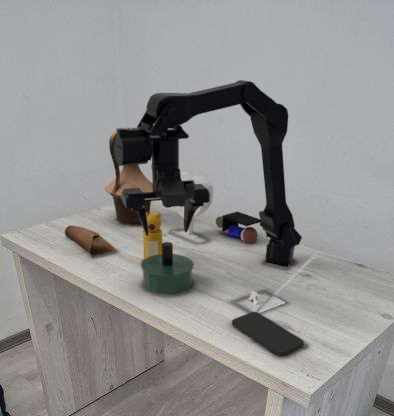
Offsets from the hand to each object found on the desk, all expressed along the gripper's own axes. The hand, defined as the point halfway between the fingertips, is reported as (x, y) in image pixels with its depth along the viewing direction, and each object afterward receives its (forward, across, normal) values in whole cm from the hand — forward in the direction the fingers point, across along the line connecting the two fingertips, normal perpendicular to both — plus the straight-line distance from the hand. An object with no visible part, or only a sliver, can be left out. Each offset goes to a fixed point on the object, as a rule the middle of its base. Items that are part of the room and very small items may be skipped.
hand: (166, 233), depth 106 cm
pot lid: (+8, 0, 0) cm, 8 cm away
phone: (+13, +14, -28) cm, 34 cm away
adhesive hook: (+13, +18, -15) cm, 27 cm away
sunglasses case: (+13, -15, +31) cm, 37 cm away
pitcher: (+13, +1, +49) cm, 51 cm away
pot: (+13, 0, 0) cm, 13 cm away
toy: (+13, 0, +14) cm, 19 cm away
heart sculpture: (+13, +15, +30) cm, 36 cm away
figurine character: (+13, +29, +25) cm, 40 cm away
